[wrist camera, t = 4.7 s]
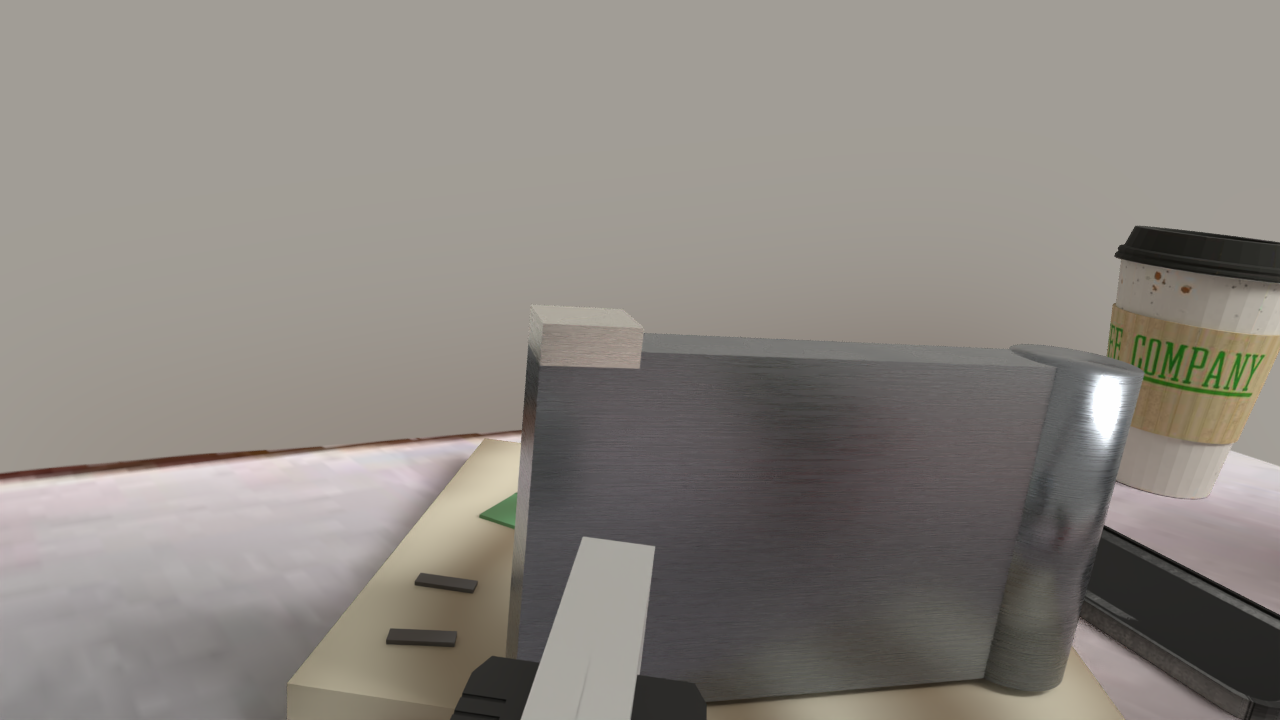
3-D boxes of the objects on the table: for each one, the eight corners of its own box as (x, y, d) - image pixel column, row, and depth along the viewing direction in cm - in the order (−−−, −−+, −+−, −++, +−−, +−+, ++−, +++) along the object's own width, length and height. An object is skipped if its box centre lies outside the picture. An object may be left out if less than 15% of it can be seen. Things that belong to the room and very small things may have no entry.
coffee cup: (1030, 454, 54) (1085, 220, 50) (1127, 444, 58) (1185, 229, 54) (1181, 520, 45) (1262, 245, 41) (1281, 503, 49) (1363, 253, 46)
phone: (1063, 504, 44) (1402, 676, 30) (1058, 523, 44) (1392, 703, 31) (945, 515, 41) (1264, 713, 27) (941, 536, 41) (1255, 742, 28)
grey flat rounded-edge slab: (1011, 621, 29) (1083, 328, 27) (1089, 686, 26) (1180, 358, 23) (501, 654, 24) (527, 298, 22) (515, 739, 21) (548, 331, 18)
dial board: (961, 529, 41) (968, 498, 40) (1182, 869, 21) (1200, 816, 21) (483, 466, 42) (484, 435, 42) (287, 730, 23) (286, 678, 22)
